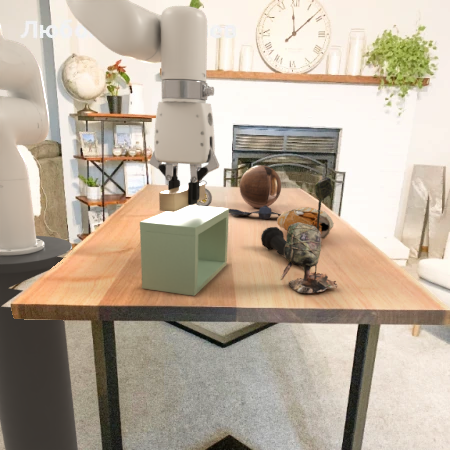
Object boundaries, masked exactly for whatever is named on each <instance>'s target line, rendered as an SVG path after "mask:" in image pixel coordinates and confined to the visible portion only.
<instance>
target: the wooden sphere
mask: <svg viewBox="0 0 450 450" xmlns="http://www.w3.org/2000/svg"><path fill="white" fill-rule="evenodd" d="M281 192H282V181H281V178H280V176H279V174H278V173H277V171H276V170H274V169H273V168H272V167H270V166H267V165H263V164H259V165H254V166H252V167H250V168H248V169H247V170H246V171H245V172H244V173H243V175H242V176H241V178H240V182H239V193H240V196H241V198H242V199H243V201H244V202H245V203H246V204H247V205H249V206H250V207H253V208H256V209H260V207H263V206H264V205H266V206H267V207H271V205H273V204H274V203H275V202H276V201H277V200H278V199H279V197H280V194H281Z"/></svg>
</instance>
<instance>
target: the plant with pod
mask: <svg viewBox="0 0 450 450" xmlns="http://www.w3.org/2000/svg"><path fill="white" fill-rule="evenodd" d="M314 191H315V195H316V198H317V199H318V206H317V208H318V209H317V210H318V215H317V228H316V227H315V226H313V225H308V224H303V223H294V224H291V225H290V226H289V227H288V230H287V231H286V239H285V240H286V245H285V247H284V256H283V257H284V259H285V260H286V261H288V264H287V266H285V268H284V270H283V273H282V275H281V277H280V281H283V280H284V278H285V277H286V275H287V274H288V272H289V271H290V269H291V268H292V265H293V263H292V261H293V262H296V263H299V264H301V265H302V266H303V267H302V269H303V273H304V275H303V278H302V277H298V278H296V279H291V280H290V281H288V283H287V284H288V285H289V287H290V288H291V289H292V290H294V291H295V292H297V293H300V294H301V293H303V294H314V293H315V294H316V293H320V292H325V291H326V290H327V289H332V288H335V289H337V288H338V284H337V283H336V282H337V280H331V279H328V274H327V273H325V272H321V273H320V272H317V265H318V263H319V259H320V257H321V256H320V255H321V251H322V249H321V248H322V240H323V239H321V232H320V231H319V218H320V211H321V207H322V202H323V201H322V200H325V199H326V198H327V197H329V198H330V199H331V200H332V199H333V198H334V197H333V194H332V193H333V191H334V189H333V185H332V180H331V178H330V177H329V176H324V177H323V178H321V179H319V180H317V182H316V183H315V184H314ZM313 267H315V270H314V271H312V272H310V270H311V268H313Z"/></svg>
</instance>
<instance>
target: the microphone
mask: <svg viewBox="0 0 450 450" xmlns="http://www.w3.org/2000/svg"><path fill="white" fill-rule="evenodd" d="M284 237H285V236H284V232H283V231H282V230H281V229H280V228H279V227H278V226H269V227H266V228H265V229H264V230H263V231H262V234H261V237H260V240H261V245H262V246H263V247H265V249H266V250H268V251H269V250H270V251H271V250H275V251H276V253H277V254H278V255H279V256H283V257H284V247H285V245H286V240H287V239H285V238H284ZM292 264H294V265H296V266H299V267H301V268H303V266H302V265H301V264H299V263H296V262H293V261H292Z"/></svg>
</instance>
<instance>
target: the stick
mask: <svg viewBox="0 0 450 450" xmlns="http://www.w3.org/2000/svg"><path fill="white" fill-rule="evenodd" d="M205 184H206V183H204V184H202V182H201V183H200V196H199V200H197V202H199V201H201V200H204V199H205V188H206V185H205ZM158 196H159V197H158V201H159V203H158V205H159V206H158V207H159V211H161V212H166V211H170V212H175V211H178V210H180V209H183V208H185V207H187V206H190V205H189V204H188V183H187V184H184V185H180V187H177V188H174V189H170V190H168V189H167V190H164V191H161V192H159V194H158ZM205 200H206V199H205ZM201 202H202V201H201Z"/></svg>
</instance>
